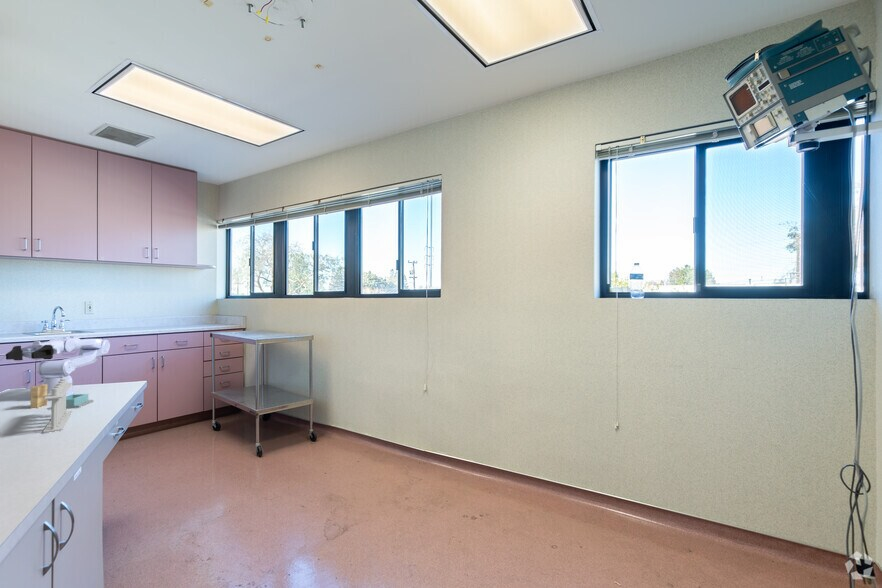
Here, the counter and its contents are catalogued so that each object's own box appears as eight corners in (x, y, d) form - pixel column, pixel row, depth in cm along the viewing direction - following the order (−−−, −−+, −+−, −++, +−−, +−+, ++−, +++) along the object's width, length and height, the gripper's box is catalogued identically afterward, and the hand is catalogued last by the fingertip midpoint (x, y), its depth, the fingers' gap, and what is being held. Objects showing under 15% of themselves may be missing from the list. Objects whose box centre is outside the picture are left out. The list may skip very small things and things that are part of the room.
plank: (40, 405, 157) (40, 384, 157) (47, 404, 158) (47, 384, 158) (30, 408, 153) (30, 387, 153) (37, 408, 153) (37, 387, 153)
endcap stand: (66, 402, 161) (66, 394, 161) (93, 401, 163) (93, 393, 163) (50, 409, 152) (50, 400, 152) (78, 407, 154) (78, 399, 154)
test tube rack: (62, 431, 129) (63, 389, 129) (43, 434, 126) (43, 391, 126) (72, 412, 149) (72, 376, 149) (55, 414, 146) (56, 378, 146)
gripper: (23, 340, 160) (-6, 346, 147) (66, 338, 164) (43, 344, 151) (24, 357, 161) (-4, 365, 148) (67, 356, 164) (43, 363, 151)
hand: (19, 356), depth 149 cm, fingers open, 7 cm apart
